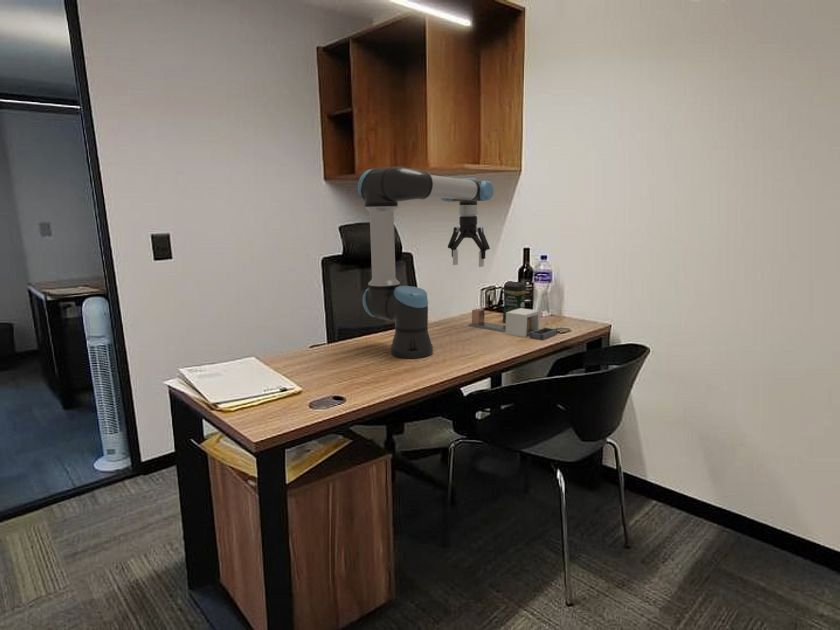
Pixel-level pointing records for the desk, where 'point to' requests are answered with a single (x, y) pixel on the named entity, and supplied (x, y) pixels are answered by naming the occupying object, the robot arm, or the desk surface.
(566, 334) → the desk surface
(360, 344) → the desk surface
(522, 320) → the tunnel
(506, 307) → the coffee jar
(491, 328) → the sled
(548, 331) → the tray
